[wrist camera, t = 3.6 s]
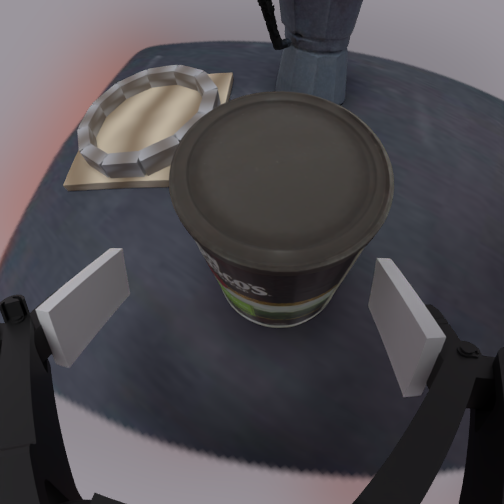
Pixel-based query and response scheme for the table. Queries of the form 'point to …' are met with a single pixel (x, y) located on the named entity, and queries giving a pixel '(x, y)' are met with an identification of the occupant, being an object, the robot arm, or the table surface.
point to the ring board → (142, 127)
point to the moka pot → (313, 45)
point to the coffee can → (280, 200)
